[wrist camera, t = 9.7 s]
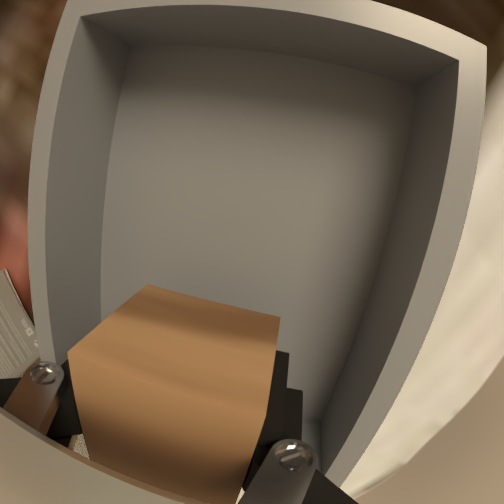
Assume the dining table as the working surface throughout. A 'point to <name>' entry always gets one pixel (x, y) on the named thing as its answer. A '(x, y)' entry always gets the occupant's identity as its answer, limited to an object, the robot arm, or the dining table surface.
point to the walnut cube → (176, 391)
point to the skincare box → (15, 332)
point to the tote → (260, 182)
